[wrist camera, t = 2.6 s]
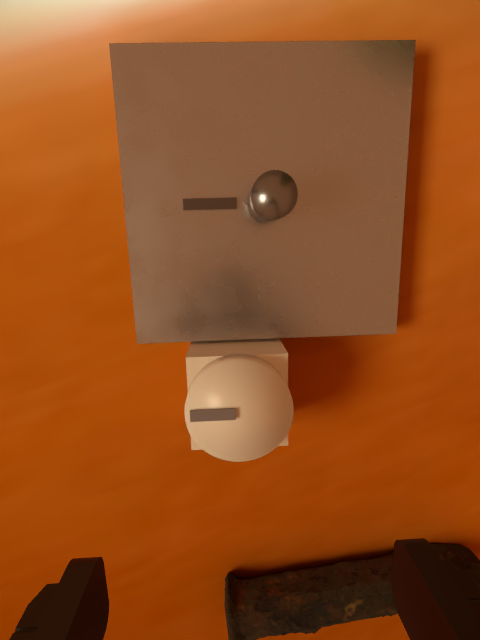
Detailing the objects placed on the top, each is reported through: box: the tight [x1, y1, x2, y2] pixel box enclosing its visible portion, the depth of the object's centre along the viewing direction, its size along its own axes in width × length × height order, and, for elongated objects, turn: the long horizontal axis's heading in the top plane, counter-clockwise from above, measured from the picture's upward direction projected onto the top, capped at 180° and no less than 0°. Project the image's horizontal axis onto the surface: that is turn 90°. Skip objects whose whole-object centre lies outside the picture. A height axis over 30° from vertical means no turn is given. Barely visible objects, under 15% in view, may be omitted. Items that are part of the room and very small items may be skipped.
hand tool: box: [225, 543, 480, 640], centre depth 26 cm, size 19×4×5 cm, turn 97°
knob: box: [185, 338, 294, 462], centre depth 22 cm, size 6×6×5 cm
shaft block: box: [109, 40, 416, 344], centre depth 19 cm, size 16×16×5 cm
